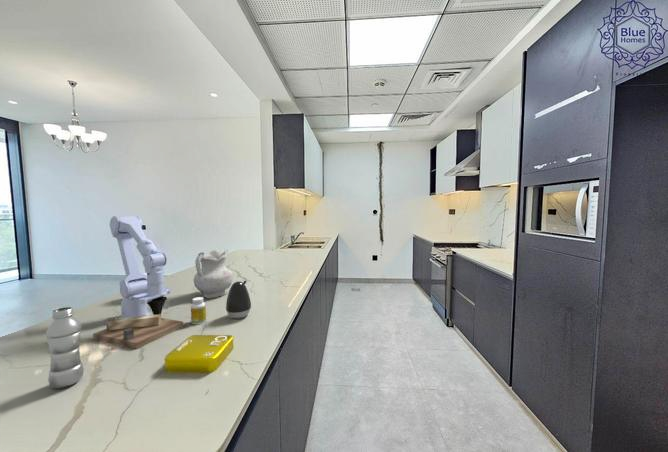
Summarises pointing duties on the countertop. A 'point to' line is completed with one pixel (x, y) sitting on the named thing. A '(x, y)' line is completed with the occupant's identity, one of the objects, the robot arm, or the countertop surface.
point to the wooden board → (138, 333)
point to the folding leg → (132, 322)
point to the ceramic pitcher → (212, 274)
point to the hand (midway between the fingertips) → (157, 315)
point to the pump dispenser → (238, 300)
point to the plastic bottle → (64, 349)
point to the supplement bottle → (198, 311)
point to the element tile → (199, 354)
